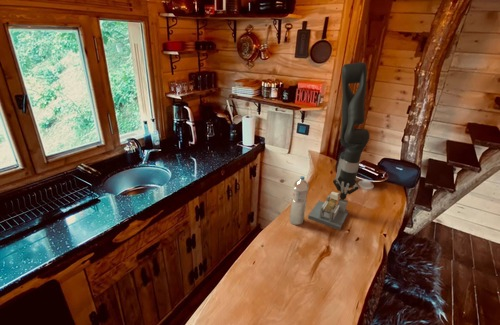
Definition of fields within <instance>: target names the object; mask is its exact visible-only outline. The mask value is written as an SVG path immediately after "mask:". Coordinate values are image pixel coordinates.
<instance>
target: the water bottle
mask: <svg viewBox="0 0 500 325" xmlns="http://www.w3.org/2000/svg"><path fill="white" fill-rule="evenodd" d="M305 178H306V177H305V176H303V175H302V176H300V178H299V179H297V180H296V181H295V182H294V183H293V192H292V198H291V205H290V212H289V221H290V223H291V224H292V225H295V226H300V225H303V224H304V220H305V214H306V213H305V212H306V207H307V201H308V199H307V198H308V193H309V188H310V185H309V183H308V181H306V180H305Z"/></svg>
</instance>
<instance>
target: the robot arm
mask: <svg viewBox="0 0 500 325" xmlns="http://www.w3.org/2000/svg"><path fill="white" fill-rule="evenodd" d="M367 69H368V67H367V64H366V63H365V62H354V63H353V62H352V63H347V64H346V63H345V64H343V65H342V68H341V85H342V86H341V87H342V90H341V91H342V102H341V130H340V131H341V132H340V145H341V147H344V148H345V151H342V152H341V153H340V157H339V161H338V164H337V165H338V166H337V171H336V175H335V178H334V179H333V181H332V182H333V184H334V186H335V188H336V190H337V191H338V192H339V194H340V196H339V199H340V198H341V199H342V200H346V198H347V195H351V194H353V193H355V192H356V191H358V190H359V189H360V185H358V184H357V180H356V178H357V175H358V170H359V166H360V159H361V155H362V153H363V151H364V149H365V148H366V146H367V145H368V143H369V140H370V138H371V137H370V132H369V131H368V129H366V128H355V126H360V125H363V124H365V119H366V118H365V116H366V115H365V101H366V100H365V99H366V91H367V77H368V70H367ZM350 84H358V89H357V91H356V92H355V94H354V92H353V91H352V89H351V87H350V86H351V85H350ZM349 189H350V190H349Z"/></svg>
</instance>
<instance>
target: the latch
mask: <svg viewBox="0 0 500 325" xmlns="http://www.w3.org/2000/svg"><path fill="white" fill-rule="evenodd" d="M340 194H341V193H340V192H335V191H331V193H330V194H329V195H330V199H331V198H332V199H335V200H337V201H339V199H340Z"/></svg>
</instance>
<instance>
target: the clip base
mask: <svg viewBox="0 0 500 325" xmlns="http://www.w3.org/2000/svg"><path fill="white" fill-rule="evenodd" d="M330 200H331V198H330V194H328V195H327V197H326V200H325V201H321V200H318V201H317V203H316V204H315V206H314V207H313V208H312V209H311V211H310V213H308V216H307V219H308V220H311V221H314V222H317V223H319V224H321V225H323V226H327V227H330V228H332V229H335V230H337V231H341V229H342V227H343V225H344V223H345V221H346V219H347V217H348V215H349V211H350V210H348V209H347V206H348V203H349V201H348V200H347V199H344V200H342V199H341V198H340V197H339V199H338V200H337V203H336V204H335V206H334V207H333V209H332V210H331V212H330V213H327V212H324V209H325V207H326V206H327V204H328V203H329V201H330Z"/></svg>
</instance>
